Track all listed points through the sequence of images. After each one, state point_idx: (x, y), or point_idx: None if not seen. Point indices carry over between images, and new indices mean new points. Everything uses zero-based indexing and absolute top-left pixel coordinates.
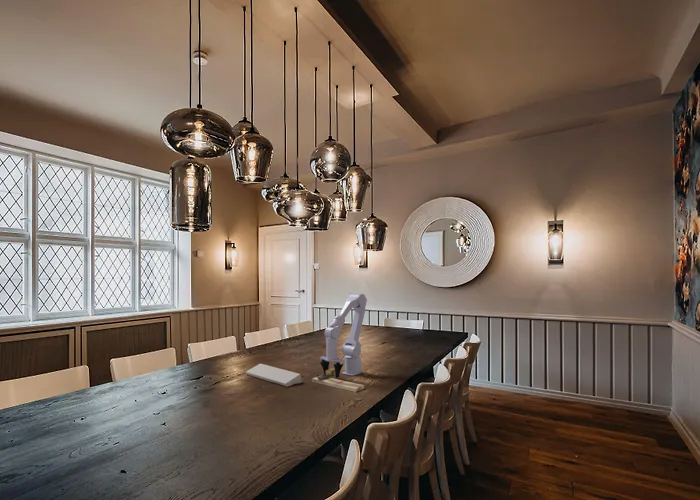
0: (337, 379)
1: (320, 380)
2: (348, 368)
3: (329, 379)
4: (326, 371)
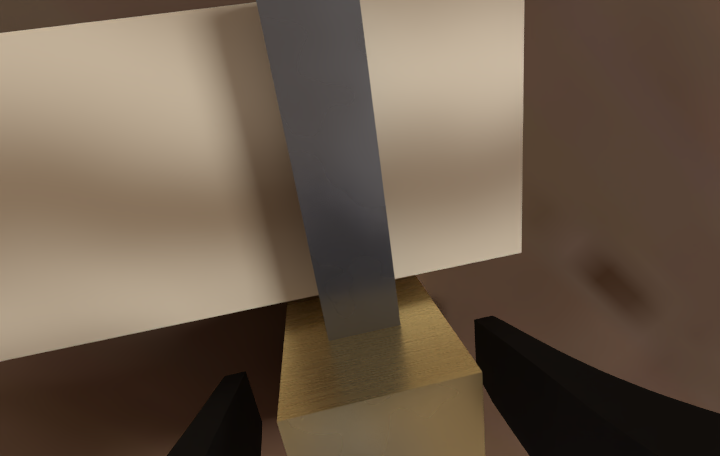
0: (102, 331)
1: None
2: None
3: (206, 219)
4: (441, 349)
